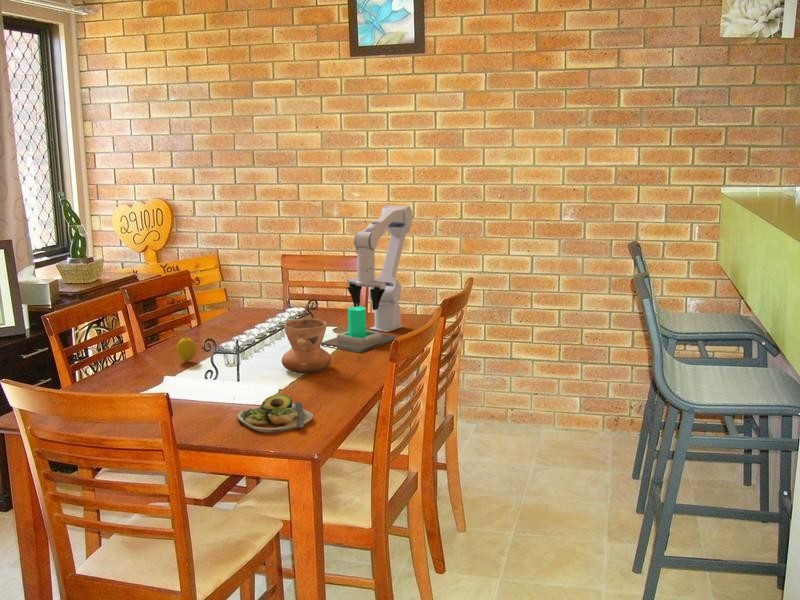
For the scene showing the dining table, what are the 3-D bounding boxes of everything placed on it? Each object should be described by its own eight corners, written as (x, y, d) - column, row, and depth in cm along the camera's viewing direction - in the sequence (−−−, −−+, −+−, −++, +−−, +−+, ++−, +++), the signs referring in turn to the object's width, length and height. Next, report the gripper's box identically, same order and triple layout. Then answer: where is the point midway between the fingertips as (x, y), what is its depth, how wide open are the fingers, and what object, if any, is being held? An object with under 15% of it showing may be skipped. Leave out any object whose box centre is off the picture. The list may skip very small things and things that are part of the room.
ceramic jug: (327, 378, 242) (326, 330, 240) (276, 378, 243) (274, 329, 240) (335, 361, 260) (334, 315, 257) (288, 360, 261) (287, 315, 258)
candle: (367, 337, 284) (367, 301, 282) (364, 341, 279) (364, 305, 276) (350, 336, 285) (349, 301, 283) (346, 341, 279) (346, 305, 277)
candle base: (358, 333, 294) (358, 324, 293) (396, 339, 285) (396, 330, 284) (321, 345, 278) (320, 336, 277) (360, 352, 269) (359, 343, 268)
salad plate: (331, 426, 205) (331, 408, 204) (264, 442, 196) (263, 423, 195) (294, 405, 221) (293, 388, 220) (229, 418, 211) (229, 401, 210)
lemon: (186, 358, 263) (185, 333, 261) (200, 361, 260) (198, 336, 259) (173, 363, 258) (172, 337, 257) (187, 365, 256) (185, 339, 254)
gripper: (341, 267, 283) (341, 307, 285) (376, 271, 275) (376, 312, 277) (354, 264, 289) (354, 304, 291) (389, 268, 281) (389, 309, 283)
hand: (366, 308), depth 285 cm, fingers open, 7 cm apart
